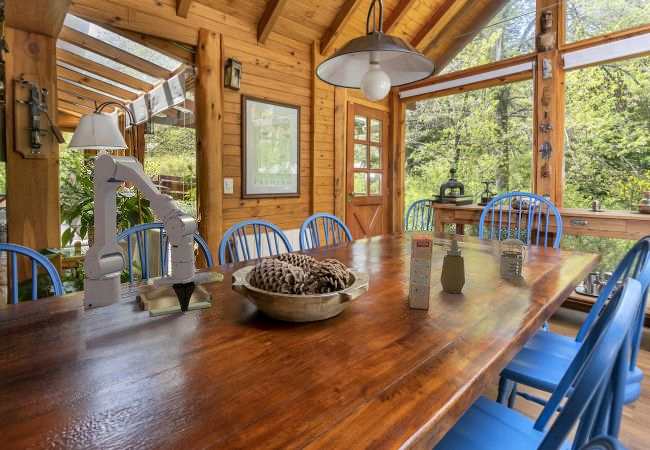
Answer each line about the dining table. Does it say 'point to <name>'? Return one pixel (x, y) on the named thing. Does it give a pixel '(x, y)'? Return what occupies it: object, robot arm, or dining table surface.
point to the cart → (167, 296)
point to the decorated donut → (213, 278)
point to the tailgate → (178, 309)
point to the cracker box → (420, 270)
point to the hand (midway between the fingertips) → (184, 310)
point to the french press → (511, 260)
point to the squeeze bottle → (453, 270)
